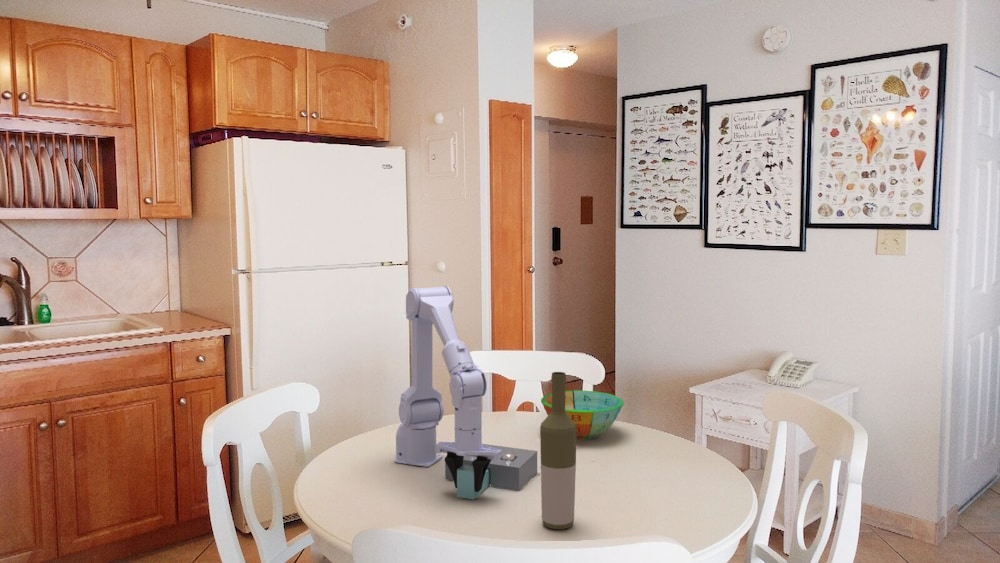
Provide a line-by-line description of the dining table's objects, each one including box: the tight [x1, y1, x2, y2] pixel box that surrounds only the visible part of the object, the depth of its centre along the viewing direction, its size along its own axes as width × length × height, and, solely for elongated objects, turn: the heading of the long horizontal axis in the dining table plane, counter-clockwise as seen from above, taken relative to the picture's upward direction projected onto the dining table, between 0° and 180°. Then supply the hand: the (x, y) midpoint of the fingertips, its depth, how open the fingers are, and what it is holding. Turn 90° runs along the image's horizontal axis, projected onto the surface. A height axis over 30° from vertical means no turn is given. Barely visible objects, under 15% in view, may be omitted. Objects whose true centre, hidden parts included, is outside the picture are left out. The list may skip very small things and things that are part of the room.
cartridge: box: [456, 465, 491, 500], centre depth 158 cm, size 4×15×6 cm, turn 158°
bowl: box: [540, 390, 625, 441], centre depth 194 cm, size 22×22×10 cm
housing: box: [444, 443, 538, 492], centre depth 165 cm, size 18×12×5 cm, turn 68°
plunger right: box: [502, 452, 515, 461], centre depth 162 cm, size 3×3×3 cm
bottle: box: [539, 371, 577, 530], centre depth 138 cm, size 7×7×30 cm
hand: (468, 488), depth 153 cm, fingers closed on cartridge, 4 cm apart
